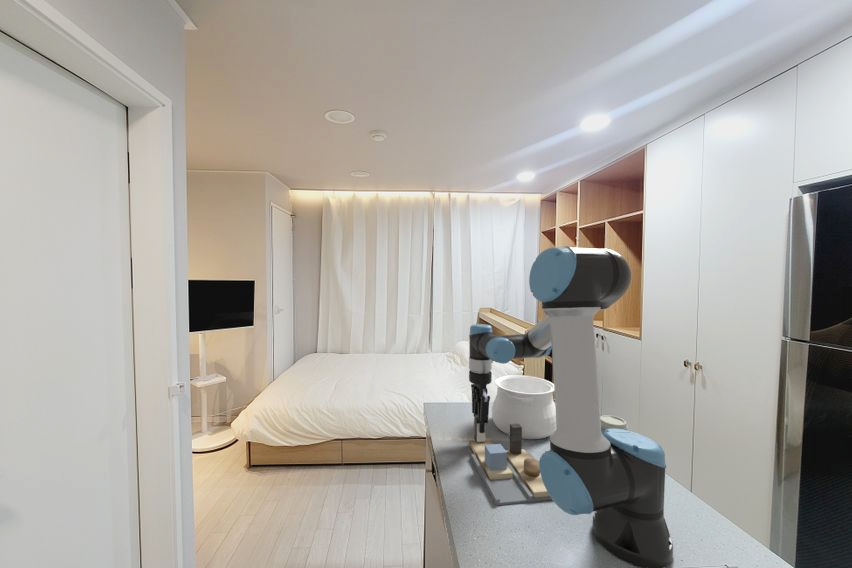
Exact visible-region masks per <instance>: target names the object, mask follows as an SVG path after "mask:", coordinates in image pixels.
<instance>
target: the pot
mask: <svg viewBox="0 0 852 568" xmlns="http://www.w3.org/2000/svg"><path fill="white" fill-rule="evenodd" d="M494 384H495V386H496V387H497V392H496V395H495V398H494V400H493V403H492V406H491V416H492V417H491V418H492V420H493V423H494V425H495V426H496V427H497V428H498V429H499V430H500V431H501V432H503V433H505V434H507V435H509V436H510V424H520V425H521V427H522V439H524V440H541V439H545V438H547V437H548V438H549V437H550V435H551V434H552V433H553V432H554V431H555V430H556V429H557V426H556V409H555V400H554V396H553V395H554V393H555V392H554V382H551V381H549V380H547V379H545V378H544V379H543V378H541V377H536V376H531V375H524V374H523V375H522V374H521V375H520V374H509V375H504V376H500V377H498V378H496V379H495V381H494Z"/></svg>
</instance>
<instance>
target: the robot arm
mask: <svg viewBox="0 0 852 568" xmlns="http://www.w3.org/2000/svg"><path fill="white" fill-rule="evenodd" d="M528 277H529V278H528V284H529V290H530V292H531V293H532V296H533V297H534V299H536V300H537V301H539V302H541V310H542V312H544V314H546V315H544V316H543V317H542V318H541V319H540V320H538V322H537V323H536V324H534V326H533V327H531V329H530V330H528V331H527V332H526V333H523V334H522V333H521V334H520V333H519V334H507V335H506V334H505V335H496V334H494V332H493V327H492V326H491V325H490V324H487V323H486V324H485V323H484V324H483V323H476V324H475V323H474V324H472V325H470V328H469V335H468V337H469V357H468V368H469V371H468V380H469V382H470V383H471V385H470V388H471V413H472V414H473V415H474V414H478V421H476V424H477V442H485V438H486V424H489V410H490V409H489V408H490V400H491V396H490V395H488V388H487V385H489V384H491V383H492V381H493V379H492V369H493V368H492V367H493V365H492V364H493V363H498V364H508V363H509V362H511V361H512V360H518V359H520V360H521V359H540V358H543V357H547V356H549V355H550V353H551V357H552V372H553V374H552V375H553V384H554V392H553V393H554V403H555V409H556V426H557V428H556V430H555V431H554V432H553V433H552V434H551V435H550V436H549V446H550V447H549V448H550V450H546V451H544V452H543V453H542V454H541V456H540V458H539V460H538V461H539V468H540V474H541V477H542V481H543V483H544V486H545V488H546V490H547V491H548V493H549V495H550V497H551V498H552V500H551V501H553V502H554V504H555V505H556V506H557V507H558V508H559V509H560V510H561V511H563V512H565V513H566V514H568V515H571V516H579V515H584V514H585V515H590V514H592V513H594V514H593V516H592V533H593V536H594V537H595V539H596V540H597V542H598V543H599V545H600V546H601V547H603V548H604V550H606V551H607V552H608V553H610V555H613V557H615V558H617V559H619V560H621V561H623V562H625V563H627V564H630V565H632V566H635V567H639V568H666V567H667V566H670V564H671V563H672V561H673V558H674V544H673V541H672V538H671V535H670V531H669V528H668V525H667V522H666V518H665V511H664V509H665V508H664V507H665V485H666V484H665V483H666V468H667V464H666V453H665V450H664V449H663V447H662V446H661V444H659V443H657V441H654V440H653V439H651V438H649V437H647V436H645V435H642V434H640V433H637V432H634V431H631V430H623V429H614V428H612V429H606V430H605V431H604V434H603V435H602V433H601V421H600V417H601V411H600V395H599V380H598V369H597V367H598V365H597V353H596V350H597V349H596V339H595V337H596V336H595V324H594V317H595V315H596V314H597V313H598V312H599V311H604V310H607V309H608V308H610V307H611V306H612V305H614V304H615V303H616V302H618V301H619V300H620V299H621V298H623V296H624V295H625V293H627V291H628V290H629V289H628V288H629V287H630V285H631V280H632V272H631V268H630V265H629V263H628V262H627V260H626V258H624V257H623V256H622V255H621V254H619V253H618V252H616V251H614V250H612V249H608V248H604V247H603V248H598V247H597V248H592V247H591V248H589V247H577V246H576V247H575V246H566V245H565V246H559V247H557V246H556V247H550V248H546V249H544V250H543V251H541V252H540V253H539V254H538V255H537V256H536V258H535V261H533V263H532V265H531V268H530V271H529V276H528Z"/></svg>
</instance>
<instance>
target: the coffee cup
mask: <svg viewBox="0 0 852 568" xmlns="http://www.w3.org/2000/svg"><path fill="white" fill-rule="evenodd" d="M600 421H601V433H602V435H603V434H604V431H605V430H606V429H612V428H614V429H623V430H627V431H629V426H628V424H627V421H626V420H624V419H623V418H621V417H619V416H616V415H609V414H607V415H605V414H604V415H600Z"/></svg>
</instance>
